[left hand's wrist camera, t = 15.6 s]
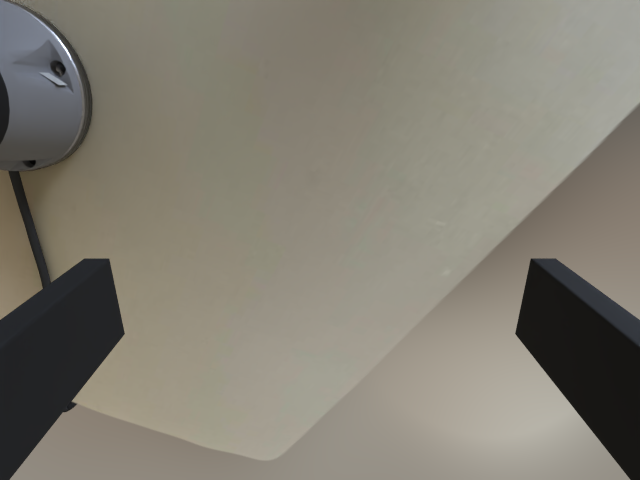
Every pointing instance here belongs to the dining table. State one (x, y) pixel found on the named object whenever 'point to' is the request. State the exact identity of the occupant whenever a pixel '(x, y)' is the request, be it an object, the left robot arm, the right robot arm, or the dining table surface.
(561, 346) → the left robot arm
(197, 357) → the dining table surface
